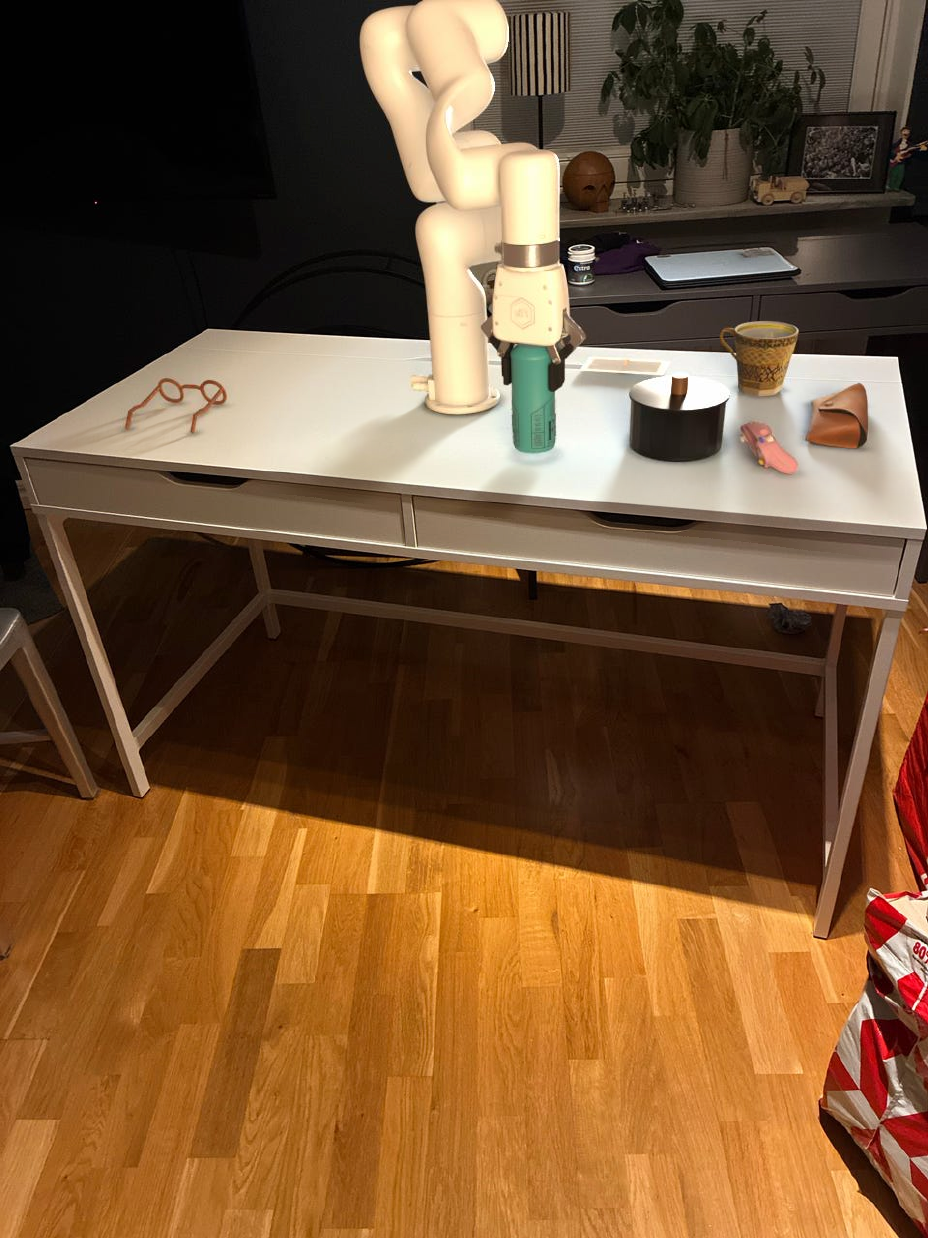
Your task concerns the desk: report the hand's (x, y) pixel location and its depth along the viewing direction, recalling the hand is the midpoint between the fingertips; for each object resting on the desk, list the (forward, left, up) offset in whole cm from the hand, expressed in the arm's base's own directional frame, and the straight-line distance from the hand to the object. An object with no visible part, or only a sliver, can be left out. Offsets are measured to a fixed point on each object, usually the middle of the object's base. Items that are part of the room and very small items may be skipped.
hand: (533, 384), depth 134 cm
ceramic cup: (+30, +33, -11) cm, 46 cm away
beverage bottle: (0, 0, -11) cm, 11 cm away
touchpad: (+8, +39, -11) cm, 41 cm away
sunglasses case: (+43, +18, -11) cm, 48 cm away
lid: (+20, +7, -3) cm, 21 cm away
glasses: (-64, +6, -11) cm, 65 cm away
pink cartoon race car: (+33, +2, -11) cm, 35 cm away
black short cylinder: (+20, +7, -11) cm, 24 cm away
